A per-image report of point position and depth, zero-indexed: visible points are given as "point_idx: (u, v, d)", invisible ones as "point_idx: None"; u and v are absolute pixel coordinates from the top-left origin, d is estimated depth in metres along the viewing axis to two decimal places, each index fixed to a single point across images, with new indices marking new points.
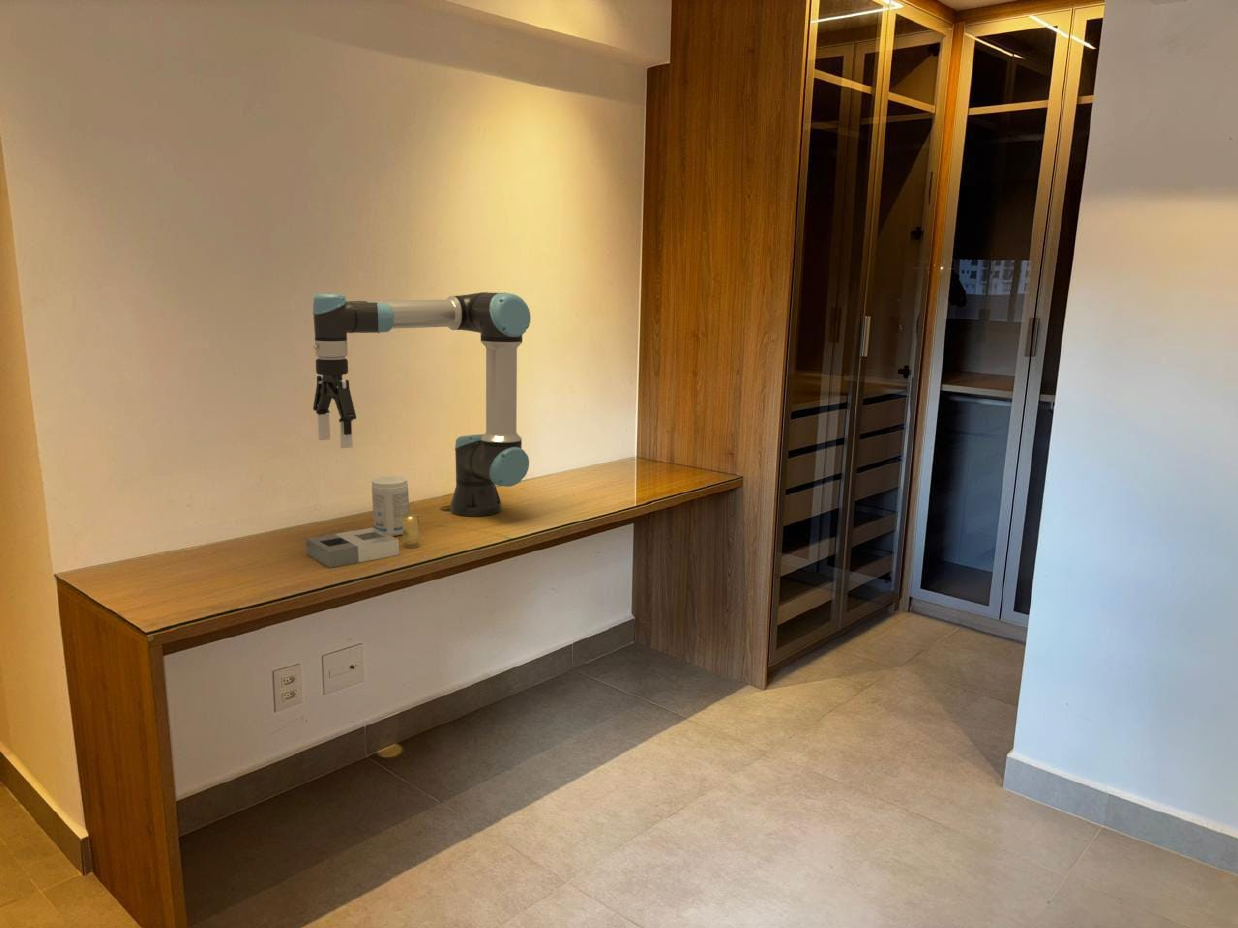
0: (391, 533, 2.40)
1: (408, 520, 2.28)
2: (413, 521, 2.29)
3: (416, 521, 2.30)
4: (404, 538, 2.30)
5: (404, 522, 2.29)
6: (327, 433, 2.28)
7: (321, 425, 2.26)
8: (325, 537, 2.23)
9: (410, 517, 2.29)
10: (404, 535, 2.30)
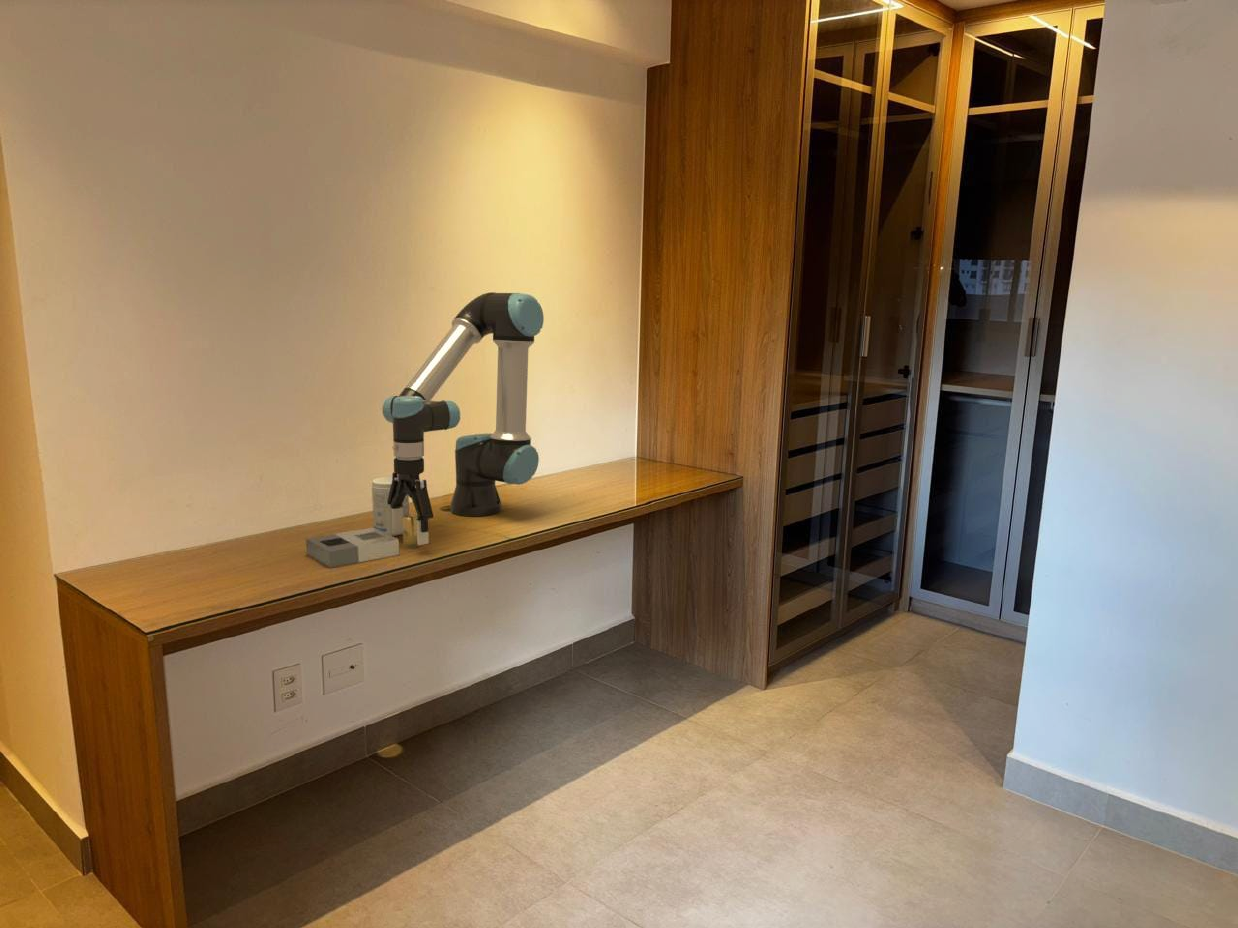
0: (391, 533, 2.40)
1: (408, 520, 2.28)
2: (413, 521, 2.29)
3: (416, 521, 2.30)
4: (404, 538, 2.30)
5: (404, 522, 2.29)
6: (401, 526, 2.36)
7: (396, 519, 2.35)
8: (325, 537, 2.23)
9: (410, 517, 2.29)
10: (404, 535, 2.30)
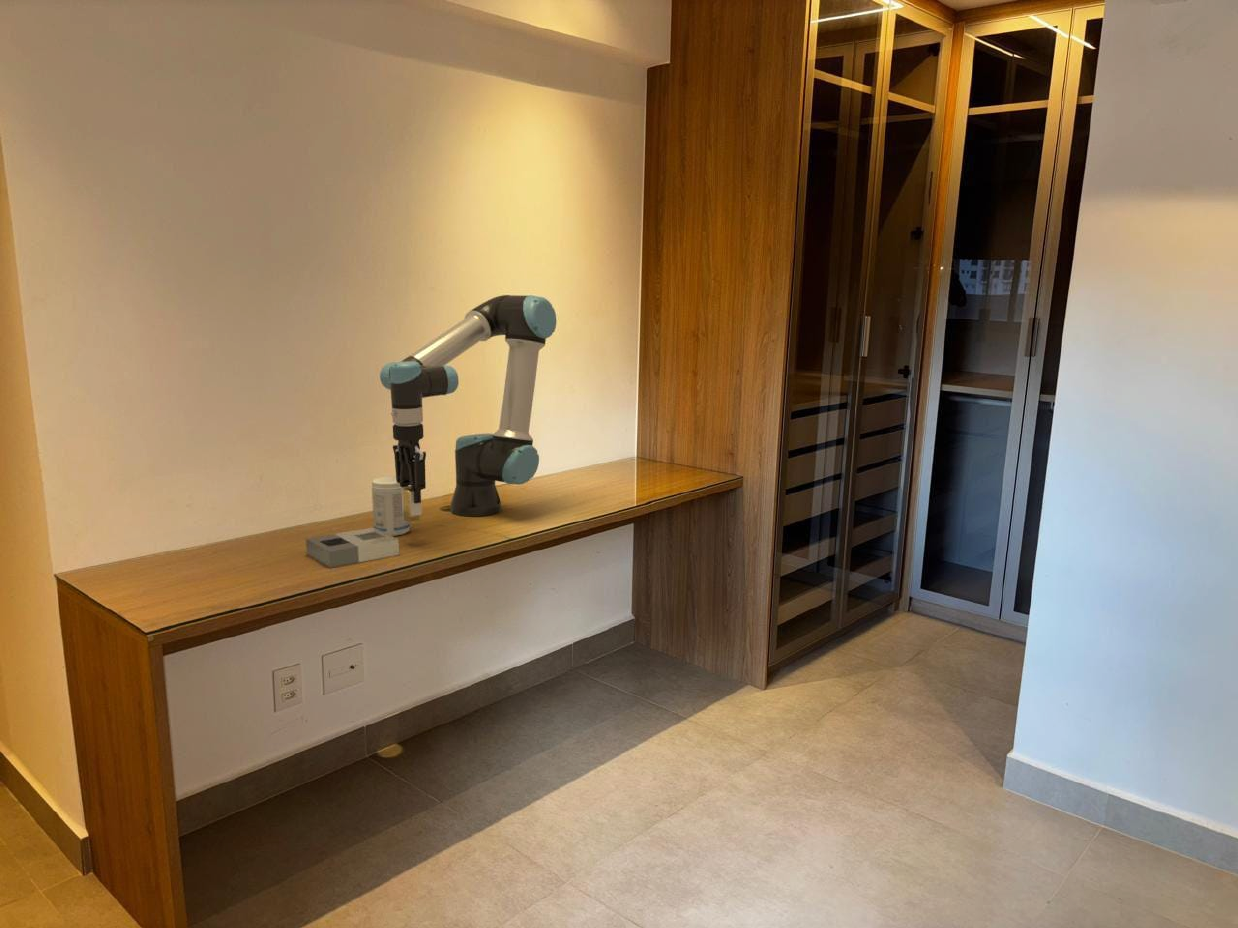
0: (391, 533, 2.40)
1: (408, 493, 2.27)
2: None
3: None
4: (405, 511, 2.29)
5: (404, 495, 2.28)
6: None
7: None
8: (325, 537, 2.23)
9: None
10: (405, 508, 2.29)
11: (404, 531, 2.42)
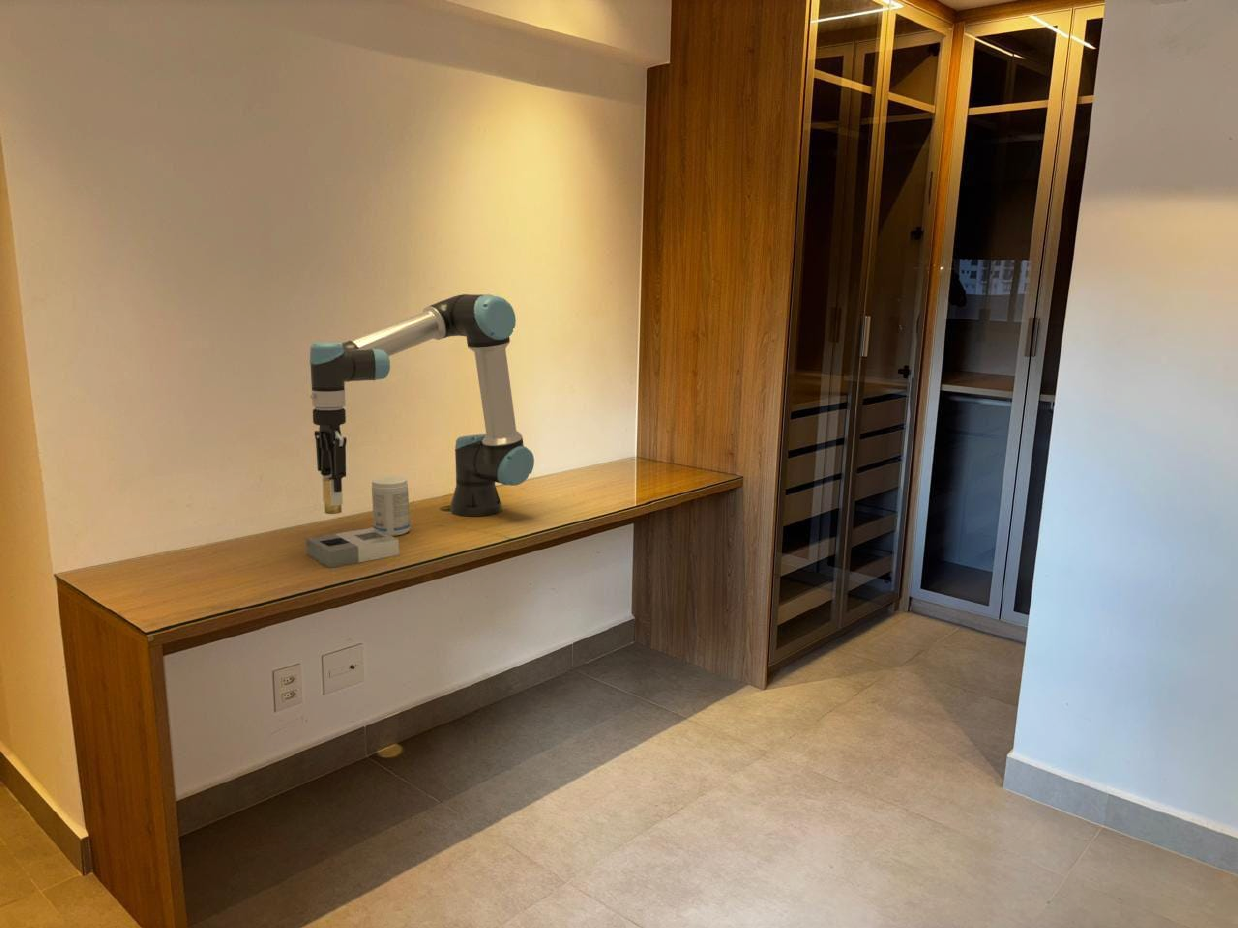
0: (391, 533, 2.40)
1: (329, 484, 2.15)
2: None
3: None
4: (325, 503, 2.17)
5: (324, 486, 2.16)
6: None
7: None
8: (325, 537, 2.23)
9: None
10: (325, 500, 2.16)
11: (404, 531, 2.42)
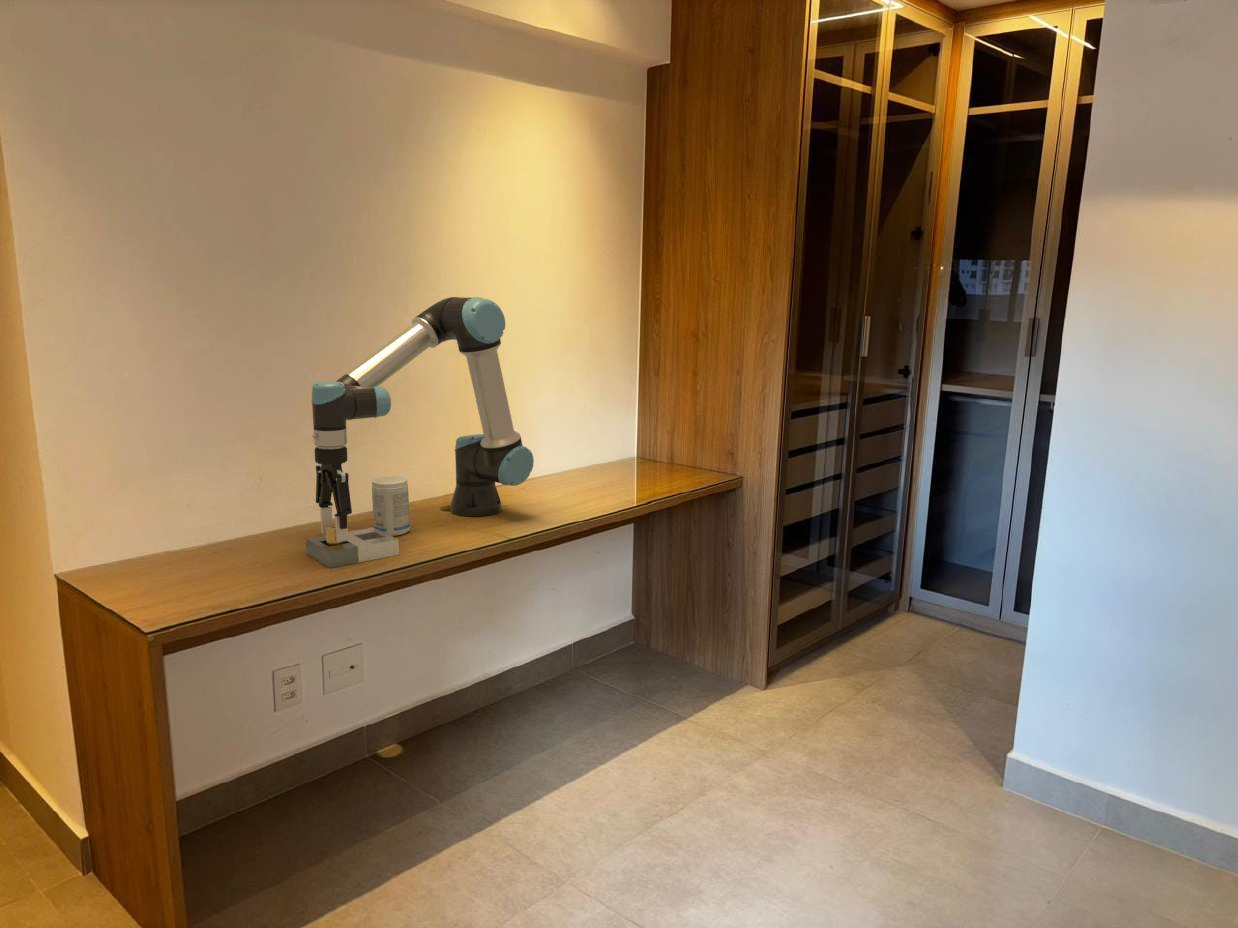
0: (391, 533, 2.40)
1: (331, 531, 2.17)
2: None
3: None
4: None
5: (327, 533, 2.18)
6: None
7: (324, 518, 2.22)
8: (325, 537, 2.23)
9: (333, 527, 2.18)
10: None
11: (404, 531, 2.42)
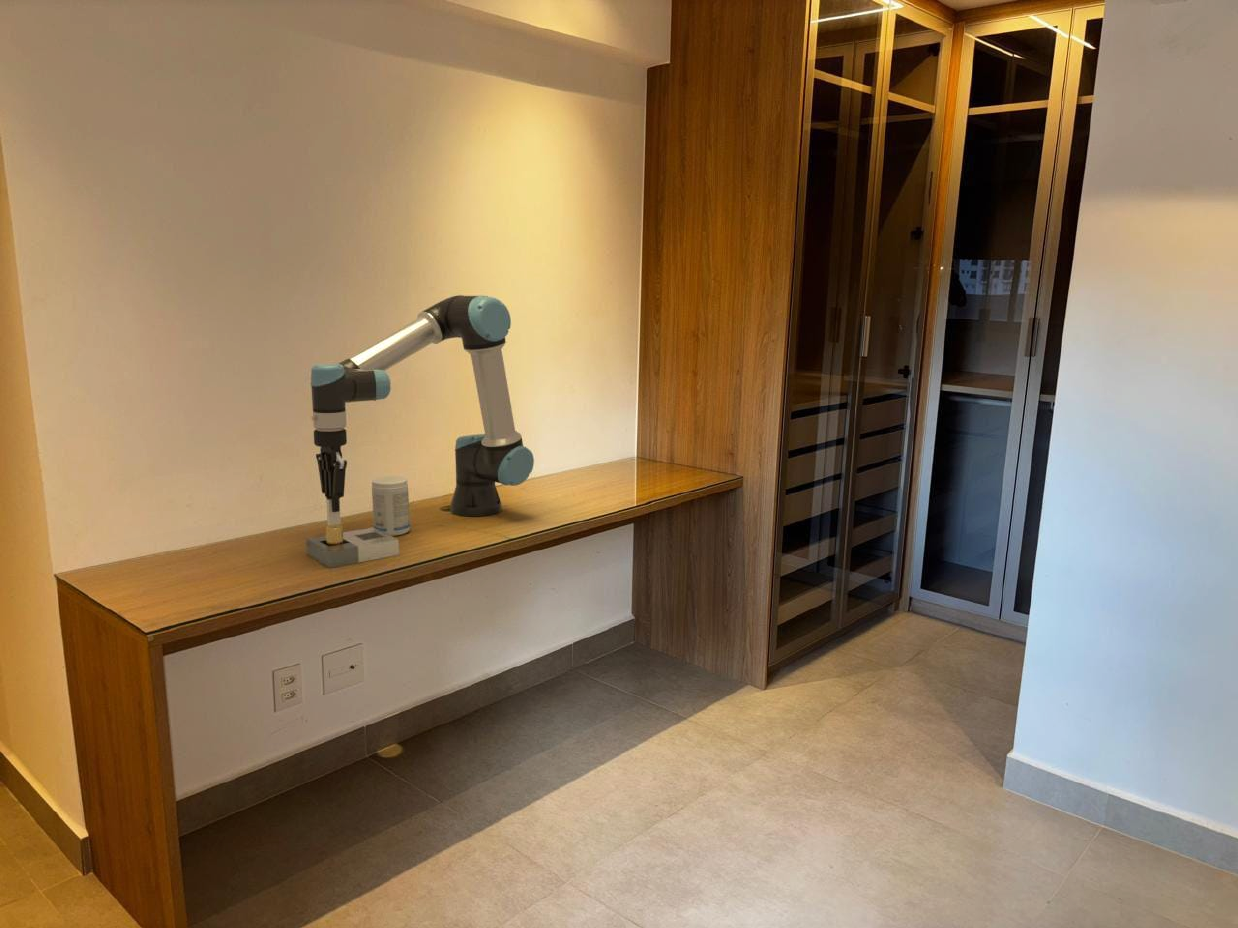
0: (391, 533, 2.40)
1: (331, 531, 2.17)
2: (336, 532, 2.18)
3: (340, 532, 2.19)
4: None
5: (327, 533, 2.18)
6: None
7: None
8: (325, 537, 2.23)
9: (333, 527, 2.18)
10: None
11: (404, 531, 2.42)
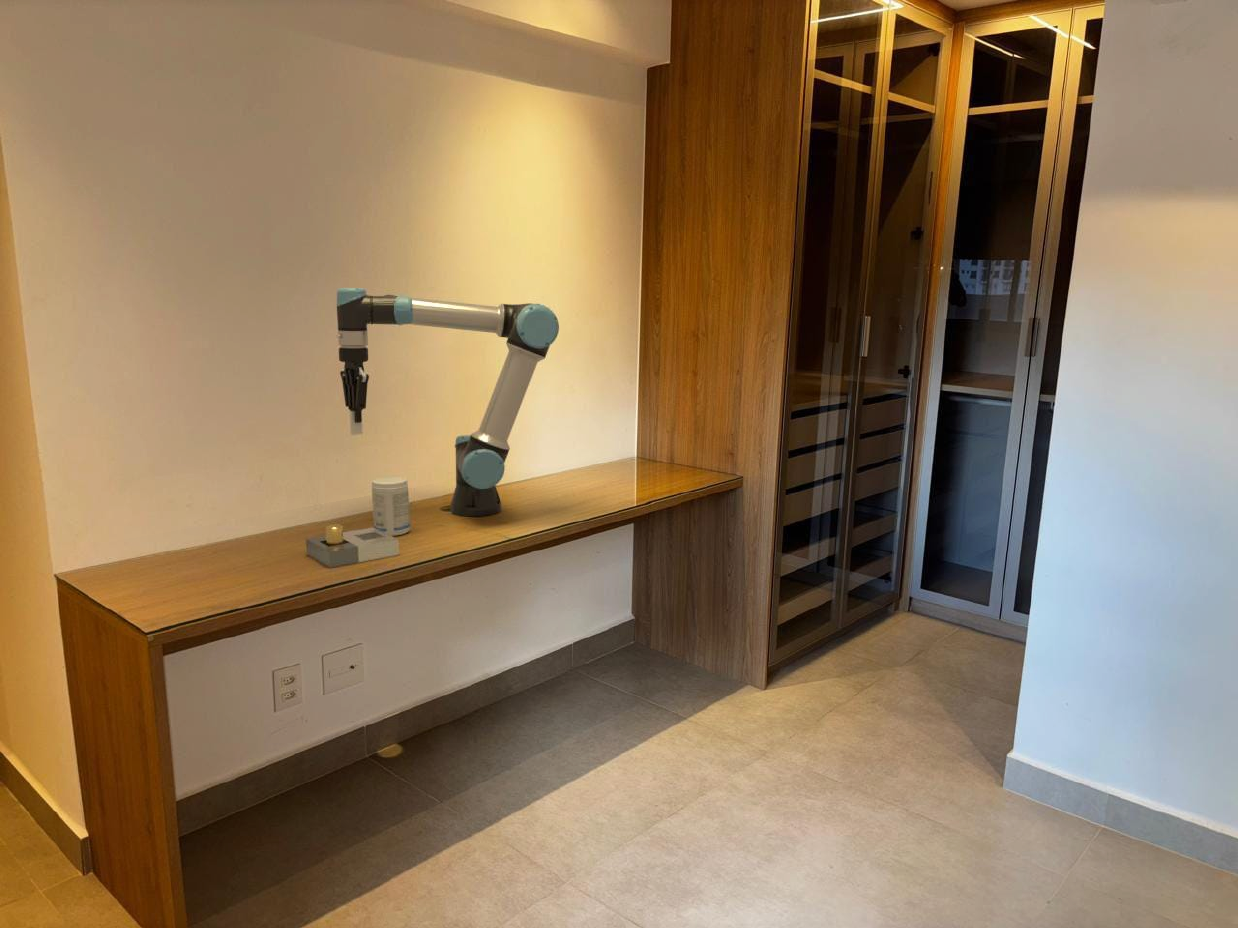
0: (391, 533, 2.40)
1: (331, 531, 2.17)
2: (336, 532, 2.18)
3: (340, 532, 2.19)
4: None
5: (327, 533, 2.18)
6: None
7: None
8: (325, 537, 2.23)
9: (333, 527, 2.18)
10: None
11: (404, 531, 2.42)
